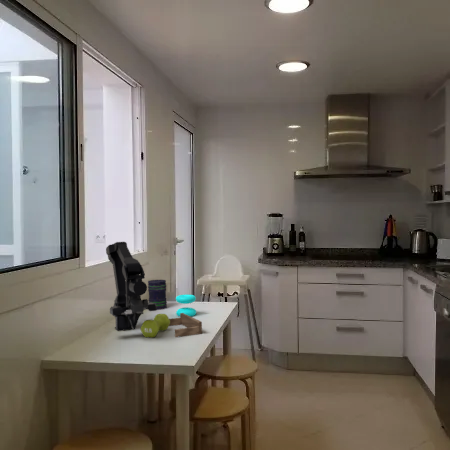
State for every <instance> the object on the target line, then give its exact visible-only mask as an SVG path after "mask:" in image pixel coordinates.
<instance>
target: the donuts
mask: <svg viewBox="0 0 450 450" xmlns="http://www.w3.org/2000/svg"><path fill="white" fill-rule="evenodd" d="M196 299H197V297H196V296H195V295H193V294H186V293H185V294H179V295H176V297H175V301H176V302H177V303H179V304H183V305H185V304H192V303H194V302H195V301H196ZM180 313H184V314H186V315H188V316H190V317H194V316H195V315H196V314H197V310H196V309H195V308H193V307H187V306H186V307H180V308H178V309H177V310H176V312H175V314H176V316H177V317H179V316H180Z"/></svg>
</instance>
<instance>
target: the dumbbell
mask: <svg viewBox="0 0 450 450" xmlns="http://www.w3.org/2000/svg"><path fill="white" fill-rule="evenodd" d="M169 319H170V318H169V316H168V315H167V314H166V313H157V314H156V315H155V316H154V317H153V319H144V321H143V322H142V324H141V327H140V331H141V332H140V333H141V334H142V335H143V336H144V337H145V338H147V337H149V338H148V339H150V338H155V337H156V336H157V335H158V333H159V331H161V332H162V331H163V332H165V331H166V330H168V328H169V327H170V326H169V325H170V320H169Z"/></svg>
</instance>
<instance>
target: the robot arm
mask: <svg viewBox="0 0 450 450" xmlns="http://www.w3.org/2000/svg"><path fill="white" fill-rule="evenodd" d="M105 252H106V255H107V259H108V260H109V262H110V263H111V264H112V267H113V269H112V271H113V276H114V282H115V283H114V284H115V289H116V296H115V298H114V301H113V302H114V303H113V305H112V306H111V307H110V308H109V313H110V315H112V316H113V317H114V318H115V326H114V329H115V330H117V331H118V332H120V331H127V330H132V329H133V330H136V328H137V324H138V323H139V318H140V317H141V316H142V315H144V310H148V312H156V311H158V310H157V306H156V304H154V303H152V302H150V303H149V299H148V298H143V299H142V296H144V295H145V293H146V292H147V291H148V290H147V289H148V284H146V282H144V281H143V279H145V276H146V274H145V271H144V268H143V266H142V264H141V262H140V261H139V260H138V259H136V258H134V257H133V255H132V253H131V251H130V249H129V247H128V243H127V241H116V242H114V243H112V244H108V245H107V246H106V247H105Z"/></svg>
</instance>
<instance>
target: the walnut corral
mask: <svg viewBox="0 0 450 450" xmlns="http://www.w3.org/2000/svg"><path fill="white" fill-rule="evenodd" d="M169 320H170V325H169V327H171V326H180V325H181V326H183V328H175V329H174V337H175V338H179V337H178V336H181V337H187V336H194V335H200V334H201V335H202V334H203V322H202V321H201V320H198V319H196V318H195V317H193V316H191V317H190V316H188V315H186V314H184V313H180V317H174V318H169Z"/></svg>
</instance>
